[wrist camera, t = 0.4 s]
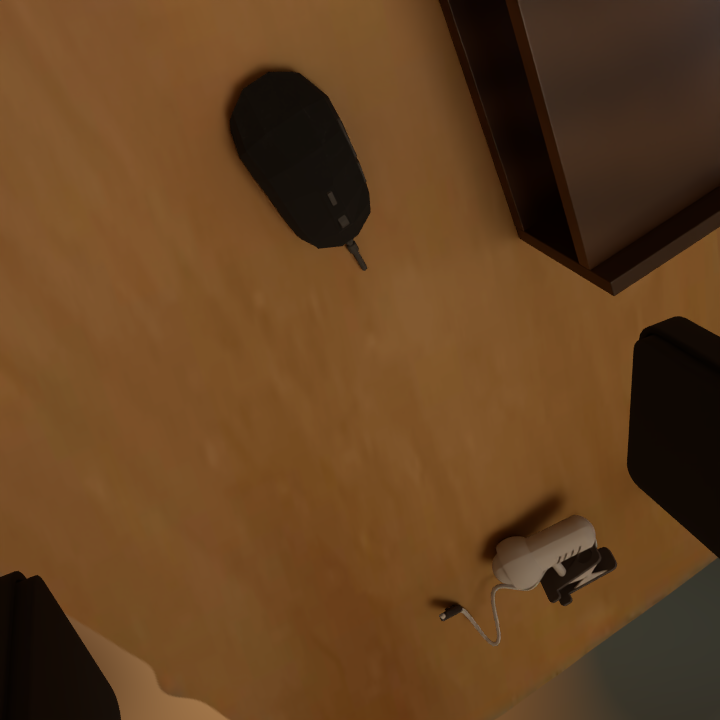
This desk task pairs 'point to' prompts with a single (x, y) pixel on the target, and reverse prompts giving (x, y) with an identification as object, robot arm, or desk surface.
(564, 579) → the clip-on lamp
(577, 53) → the shelf
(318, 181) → the gaming mouse
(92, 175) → the desk surface
